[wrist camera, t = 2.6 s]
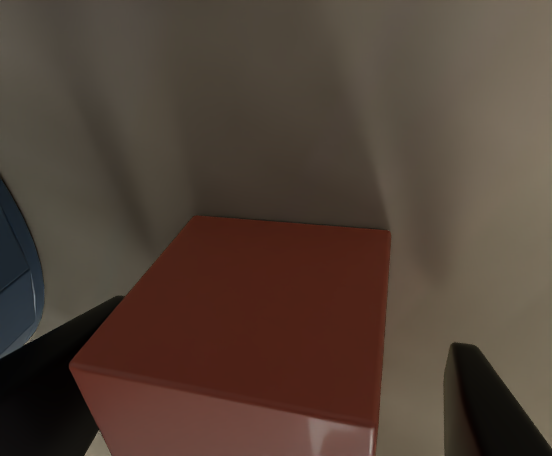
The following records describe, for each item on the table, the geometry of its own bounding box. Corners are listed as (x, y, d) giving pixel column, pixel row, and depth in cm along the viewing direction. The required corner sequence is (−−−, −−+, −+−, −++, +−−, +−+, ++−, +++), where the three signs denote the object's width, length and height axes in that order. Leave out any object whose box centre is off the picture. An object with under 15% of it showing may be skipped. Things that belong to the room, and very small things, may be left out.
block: (391, 228, 8) (378, 426, 4) (379, 373, 10) (363, 580, 6) (193, 213, 9) (64, 364, 5) (220, 347, 11) (138, 514, 8)
